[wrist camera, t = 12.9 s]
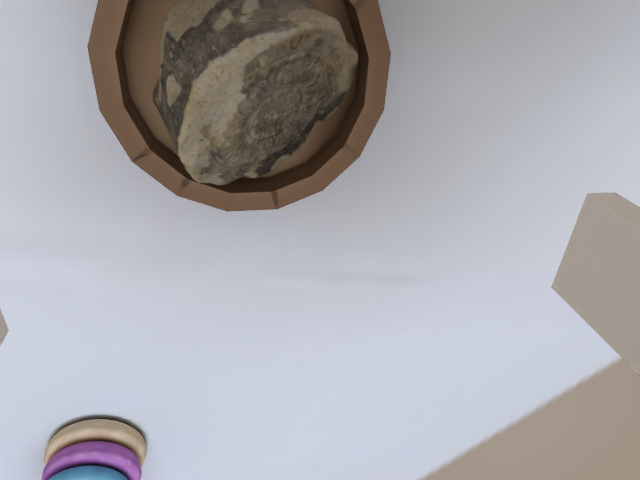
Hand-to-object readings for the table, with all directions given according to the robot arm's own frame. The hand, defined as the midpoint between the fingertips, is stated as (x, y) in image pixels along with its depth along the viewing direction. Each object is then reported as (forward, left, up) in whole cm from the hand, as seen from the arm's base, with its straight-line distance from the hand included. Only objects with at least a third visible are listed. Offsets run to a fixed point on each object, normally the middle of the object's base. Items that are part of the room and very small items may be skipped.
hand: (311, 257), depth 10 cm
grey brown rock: (0, 0, -20) cm, 20 cm away
